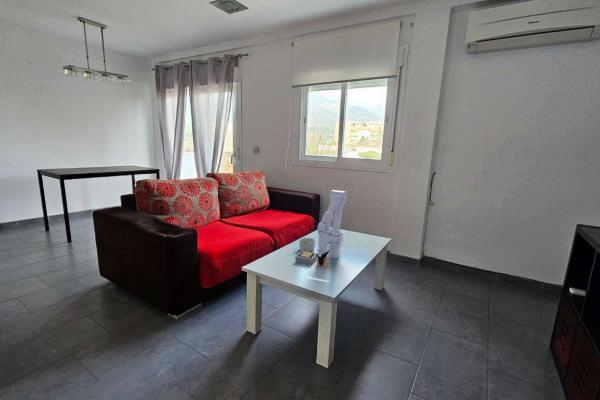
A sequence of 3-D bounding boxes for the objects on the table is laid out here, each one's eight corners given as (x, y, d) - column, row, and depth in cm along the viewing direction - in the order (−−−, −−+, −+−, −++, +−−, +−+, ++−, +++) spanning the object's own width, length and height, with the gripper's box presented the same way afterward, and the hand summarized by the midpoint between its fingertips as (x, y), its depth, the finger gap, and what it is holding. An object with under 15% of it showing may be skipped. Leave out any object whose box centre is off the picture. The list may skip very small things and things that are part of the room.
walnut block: (303, 257, 180) (303, 252, 179) (312, 259, 177) (312, 253, 177) (300, 261, 174) (300, 255, 173) (309, 262, 172) (309, 256, 171)
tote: (301, 257, 183) (301, 250, 182) (316, 259, 179) (317, 253, 178) (295, 263, 173) (295, 256, 172) (311, 266, 169) (311, 259, 168)
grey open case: (311, 254, 187) (312, 243, 186) (296, 252, 191) (296, 241, 189) (317, 247, 200) (317, 237, 199) (303, 245, 204) (303, 235, 202)
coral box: (318, 263, 173) (318, 256, 172) (327, 265, 171) (328, 257, 170) (316, 266, 169) (316, 258, 168) (326, 268, 167) (326, 260, 166)
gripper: (320, 237, 175) (319, 258, 178) (313, 245, 162) (312, 267, 165) (331, 239, 173) (330, 260, 176) (324, 246, 160) (323, 269, 162)
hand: (322, 263), depth 170 cm, fingers open, 5 cm apart
